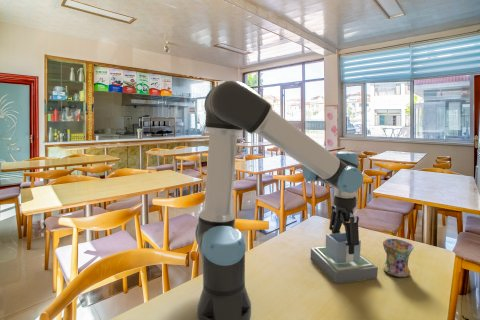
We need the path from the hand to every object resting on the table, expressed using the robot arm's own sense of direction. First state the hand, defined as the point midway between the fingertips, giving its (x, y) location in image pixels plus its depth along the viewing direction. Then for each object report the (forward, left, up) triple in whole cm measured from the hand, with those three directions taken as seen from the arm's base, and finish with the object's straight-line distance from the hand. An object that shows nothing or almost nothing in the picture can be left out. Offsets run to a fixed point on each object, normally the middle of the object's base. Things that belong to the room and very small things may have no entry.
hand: (342, 255), depth 106 cm
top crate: (0, 0, -5) cm, 5 cm away
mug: (+17, -6, -5) cm, 19 cm away
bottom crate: (0, 0, -5) cm, 5 cm away
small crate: (0, 0, 0) cm, 0 cm away
